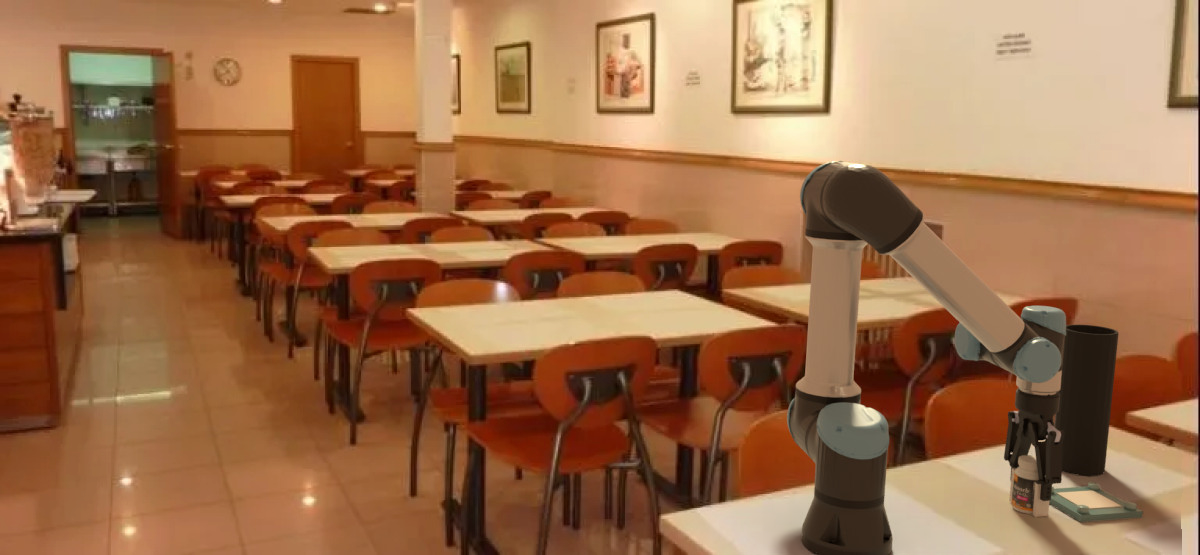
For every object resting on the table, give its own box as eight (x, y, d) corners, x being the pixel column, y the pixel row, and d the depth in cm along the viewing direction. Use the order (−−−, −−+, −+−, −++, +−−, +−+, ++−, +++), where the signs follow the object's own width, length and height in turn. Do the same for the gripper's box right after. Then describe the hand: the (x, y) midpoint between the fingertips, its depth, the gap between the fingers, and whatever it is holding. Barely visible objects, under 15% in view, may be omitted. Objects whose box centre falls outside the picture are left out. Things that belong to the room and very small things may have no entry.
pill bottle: (1004, 506, 187) (1008, 456, 185) (1026, 501, 189) (1030, 452, 188) (1028, 517, 182) (1033, 465, 180) (1050, 512, 184) (1055, 461, 183)
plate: (1080, 521, 180) (1081, 510, 180) (1035, 495, 193) (1036, 484, 192) (1142, 517, 183) (1143, 506, 182) (1094, 491, 195) (1095, 481, 195)
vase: (1113, 476, 204) (1128, 335, 199) (1065, 475, 204) (1078, 334, 199) (1089, 459, 214) (1102, 324, 209) (1042, 459, 214) (1055, 324, 209)
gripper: (1091, 403, 173) (1080, 527, 177) (1024, 375, 192) (1015, 488, 196) (1053, 405, 172) (1043, 530, 175) (989, 377, 191) (981, 490, 194)
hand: (1028, 507), depth 186 cm, fingers open, 6 cm apart
